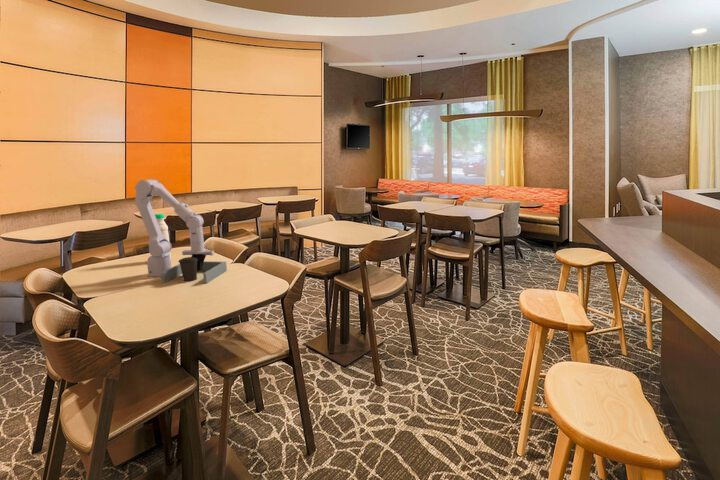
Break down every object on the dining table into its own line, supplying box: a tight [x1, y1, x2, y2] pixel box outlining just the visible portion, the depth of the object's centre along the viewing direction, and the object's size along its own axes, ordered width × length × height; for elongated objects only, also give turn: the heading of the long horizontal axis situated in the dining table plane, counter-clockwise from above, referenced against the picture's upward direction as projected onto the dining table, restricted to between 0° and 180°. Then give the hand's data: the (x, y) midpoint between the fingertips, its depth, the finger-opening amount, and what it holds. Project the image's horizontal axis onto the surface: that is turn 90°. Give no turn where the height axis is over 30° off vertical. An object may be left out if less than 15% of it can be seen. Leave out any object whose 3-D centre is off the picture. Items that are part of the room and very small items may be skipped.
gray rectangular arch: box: [161, 260, 228, 285], centre depth 185 cm, size 20×20×4 cm
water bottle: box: [154, 213, 172, 261], centre depth 212 cm, size 7×7×25 cm
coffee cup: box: [177, 256, 198, 282], centre depth 179 cm, size 8×8×10 cm
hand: (199, 270), depth 189 cm, fingers closed
